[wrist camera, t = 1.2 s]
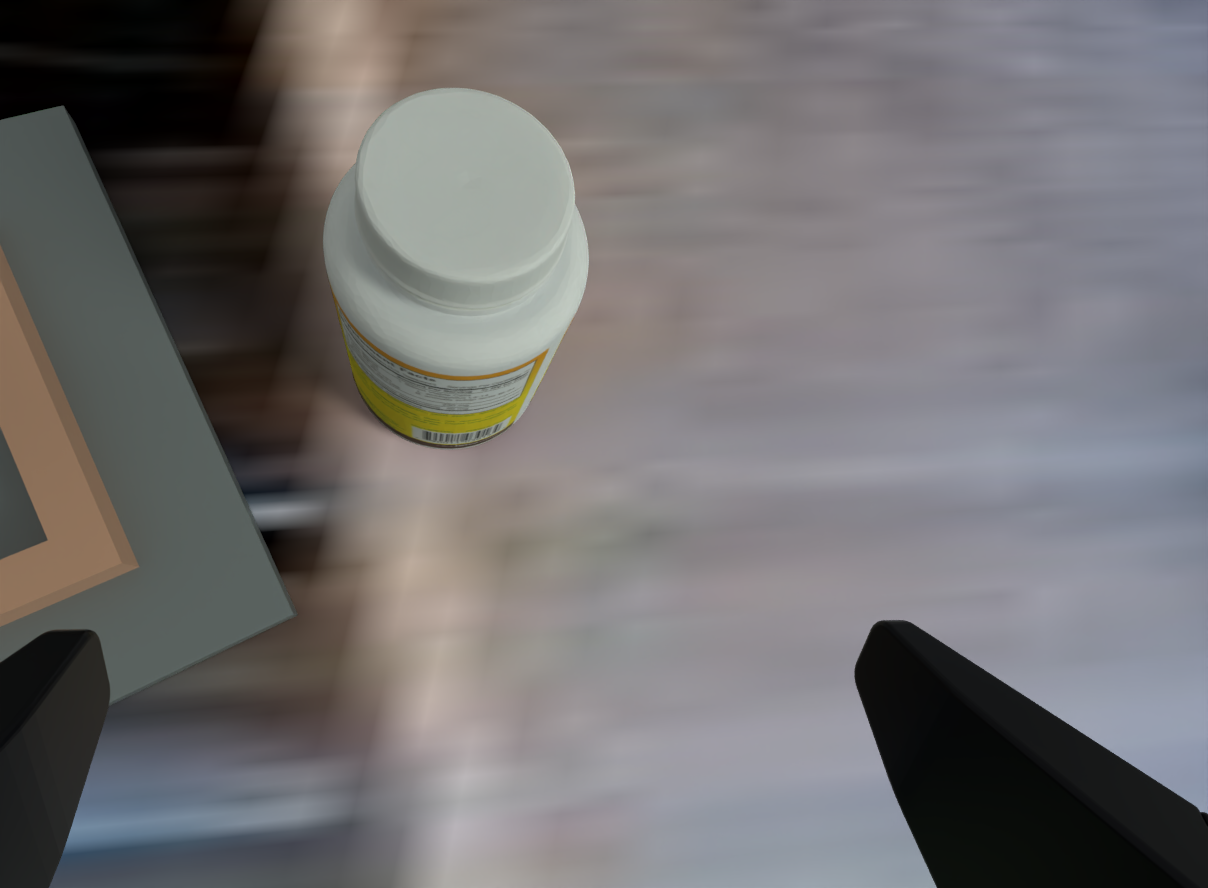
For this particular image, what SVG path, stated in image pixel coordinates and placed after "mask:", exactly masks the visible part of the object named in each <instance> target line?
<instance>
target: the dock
mask: <svg viewBox="0 0 1208 888" xmlns="http://www.w3.org/2000/svg"><path fill="white" fill-rule="evenodd" d="M297 615H298V614H297V612H296V610H295V607H294V605H293V603H292V601H291V599H290V596H289V594H288V592H287V590H286V588H285V585H284V583H283V581H282V579H281V577H280V574H279V572H278V570H277V568H276V565H275V563H274V561H273V559H272V557H271V554H270V552H269V550H268V548H267V546H266V543H265V541H264V539H263V537H262V535H261V532H260V530H259V528H258V526H257V524H256V521H255V519H254V517H253V515H252V512H251V510H250V508H249V506H248V504H247V501H246V499H245V497H244V495H243V493H242V490H241V488H240V486H239V484H238V482H237V479H236V477H235V475H234V473H233V471H232V468H231V466H230V464H229V462H228V459H227V457H226V455H225V453H224V451H223V448H222V446H221V444H220V442H219V440H218V437H217V435H216V433H215V431H214V429H213V426H212V424H211V422H210V420H209V418H208V415H207V413H206V411H205V409H204V406H203V404H202V402H201V400H200V398H199V395H198V393H197V391H196V389H195V387H194V384H193V382H192V380H191V378H190V376H189V373H188V371H187V369H186V367H185V365H184V362H183V360H182V358H181V356H180V353H179V351H178V349H177V347H176V345H175V342H174V340H173V338H172V336H171V334H170V331H169V329H168V327H167V325H166V323H165V320H164V318H163V316H162V314H161V312H160V309H159V307H158V305H157V303H156V300H155V298H154V296H153V294H152V292H151V289H150V287H149V285H148V283H147V281H146V278H145V276H144V274H143V272H142V270H141V267H140V265H139V263H138V261H137V259H136V256H135V254H134V252H133V250H132V247H131V245H130V243H129V241H128V239H127V236H126V234H125V232H124V230H123V228H122V225H121V223H120V221H119V219H118V217H117V214H116V212H115V210H114V208H113V206H112V203H111V201H110V199H109V197H108V195H107V192H106V190H105V188H104V186H103V183H102V181H101V179H100V177H99V175H98V172H97V170H96V168H95V166H94V164H93V161H92V159H91V157H90V155H89V153H88V150H87V148H86V146H85V144H84V142H83V139H82V137H81V135H80V133H79V130H78V128H77V126H76V124H75V122H74V121H73V119H72V118H71V116H70V115H69V113H68V112H67V110H66V109H65V107H64V106H59V107H54V108H50V109H46V110H42V111H37V112H33V113H29V114H24V115H20V116H16V117H12V118H7V119H3V120H0V662H2V661H3V660H4V659H6V658H7V657H9V656H10V655H12V654H13V653H15V652H16V651H17V650H19V649H20V648H22V647H23V646H25V645H26V644H28V643H29V642H31V641H32V640H33V639H35V638H36V637H38V636H39V635H41V634H43V633H45V632H47V631H50V630H58V629H89V630H92V631H94V632H96V633H97V635H98V636H99V639H100V642H101V647H102V651H103V656H104V660H105V665H106V669H107V674H108V679H109V683H110V702H109V706H110V705H112V704H114V703H116V702H118V701H120V700H122V699H125V698H127V697H129V696H131V695H133V694H135V693H137V692H139V691H141V690H143V689H145V688H147V687H149V686H152V685H154V684H156V683H158V682H160V681H162V680H164V679H166V678H168V677H170V676H172V675H174V674H176V673H179V672H181V671H183V670H185V669H187V668H189V667H191V666H193V665H195V664H197V663H199V662H201V661H203V660H206V659H208V658H210V657H212V656H214V655H216V654H218V653H220V652H222V651H224V650H226V649H228V648H230V647H233V646H235V645H237V644H239V643H241V642H243V641H245V640H247V639H249V638H251V637H253V636H255V635H257V634H259V633H262V632H264V631H266V630H268V629H270V628H272V627H274V626H276V625H278V624H280V623H282V622H284V621H286V620H289V619H291V618H293V617H295V616H297Z"/></svg>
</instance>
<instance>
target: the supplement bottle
mask: <svg viewBox="0 0 1208 888" xmlns="http://www.w3.org/2000/svg"><path fill="white" fill-rule="evenodd" d="M323 250H324V258H325V265H326V271H327V275H328V279H329V283H330V287H331V290H332V294H333V298H334V302H335V306H336V310H337V314H338V318H339V322H340V325H341V329H342V333H343V337H344V341H345V345H346V349H347V353H348V357H349V360H350V365H351V368H352V373H353V378H354V381H355V383H356V386H357V389H358V391H359V393H360V395H361V397H362V399H363V401H364V402H365V404H366V406H367V407H368V409H369V410H370V411H371V413H372V414H373V415H374V416H375V417H376V418H377V420H378V421H379V422H380V423H381V424H383V425H384V426H385V427H386V428H388V429H389V430H390V431H392V432H393V433H395V434H396V435H398V436H400V437H401V438H403V439H405V440H407V441H409V442H412V443H415V444H417V445H421V446H424V447H429V448H434V449H444V450H454V449H464V448H469V447H474V446H477V445H480V444H483V443H485V442H488V441H490V440H492V439H494V438H495V437H497V436H499V435H500V434H502V433H503V432H505V431H506V430H507V429H509V428H510V427H511V426H512V425H513V424H514V423H515V422H516V421H517V420H518V419H519V418H520V416H521V415H522V414H523V413H524V411H525V410H526V408H527V407H528V405H529V403H530V401H531V400H532V398H533V396H534V394H535V392H536V390H537V388H538V386H539V384H540V382H541V380H542V379H543V377H544V375H545V373H546V371H547V369H548V367H549V365H550V363H551V361H552V359H553V357H554V355H555V353H556V351H557V349H558V347H559V345H560V343H561V341H562V339H563V337H564V335H565V333H566V332H567V330H568V328H569V326H570V324H571V322H572V320H573V318H574V316H575V314H576V312H577V310H578V307H579V305H580V302H581V300H582V297H583V294H584V291H585V286H586V281H587V275H588V266H589V254H588V243H587V237H586V232H585V229H584V225H583V222H582V219H581V216H580V214H579V211H578V209H577V207H576V205H575V190H574V182H573V177H572V173H571V170H570V166H569V163H568V161H567V159H566V157H565V155H564V153H563V151H562V149H561V147H560V146H559V144H558V142H557V141H556V140H555V138H554V137H553V136H552V134H551V133H550V132H549V131H548V129H547V128H546V127H544V126H543V125H542V124H541V123H540V122H539V121H538V120H537V119H536V118H535V117H534V116H532V115H531V114H530V113H528V112H527V111H525V110H524V109H522V108H521V107H519V106H518V105H516V104H514V103H512V102H510V101H508V100H506V99H503V98H501V97H499V96H496V95H494V94H490V93H487V92H484V91H478V90H473V89H466V88H439V89H433V90H427V91H424V92H420V93H416V94H414V95H411V96H409V97H407V98H405V99H403V100H401V101H399V102H397V103H395V104H394V105H392V106H391V107H390V108H388V109H387V110H385V111H384V112H383V113H382V114H381V115H380V116H379V117H378V118H377V119H376V120H375V122H374V123H373V124H372V126H371V127H370V128H369V130H368V131H367V133H366V135H365V137H364V139H363V141H362V143H361V146H360V149H359V151H358V155H357V161H356V163H355V164H354V165H353V166H352V168H351V169H350V170H349V171H348V172H347V174H346V175H345V176H344V177H343V179H342V180H341V182H340V183H339V185H338V187H337V188H336V190H335V192H334V194H333V196H332V199H331V202H330V205H329V208H328V211H327V214H326V219H325V224H324V233H323Z"/></svg>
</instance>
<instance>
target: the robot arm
mask: <svg viewBox="0 0 1208 888" xmlns="http://www.w3.org/2000/svg"><path fill="white" fill-rule="evenodd" d="M855 683H856V686H857V689H858V692H859V695H860V698H861V701H862V704H863V707H864V709H865V712H866V715H867V718H868V721H869V724H870V727H871V729H872V732H873V735H874V738H875V741H876V744H877V747H878V750H879V752H880V755H881V758H882V761H883V764H884V767H885V770H886V772H887V775H888V778H889V781H890V783H891V786H892V789H893V791H894V794H895V796H896V799H897V801H898V803H899V806H900V808H901V810H902V813H903V815H904V817H905V819H906V821H907V824H908V826H909V828H910V830H911V832H912V834H913V837H914V839H915V841H916V843H917V845H918V848H919V850H920V852H921V854H922V856H923V858H924V861H925V863H926V865H927V867H928V869H929V872H930V874H931V876H932V878H933V880H934V882H935V885H936V887H937V888H1208V814H1207V813H1205V812H1200V811H1199V810H1198V808H1197V807H1196V806H1194V805H1193V804H1191V803H1190V802H1188V801H1187V800H1185V799H1184V798H1182V797H1180V796H1179V795H1177V794H1176V793H1174V792H1173V791H1171V790H1170V789H1168V788H1166V787H1165V786H1163V785H1162V784H1160V783H1159V782H1157V781H1156V780H1154V779H1153V778H1151V777H1149V776H1148V775H1146V774H1145V773H1143V772H1142V771H1140V770H1139V769H1137V768H1135V767H1134V766H1132V765H1131V764H1129V763H1128V762H1126V761H1125V760H1123V759H1122V758H1120V757H1118V756H1117V755H1115V754H1114V753H1112V752H1111V751H1109V750H1108V749H1106V748H1104V747H1103V746H1101V745H1100V744H1098V743H1097V742H1095V741H1094V740H1092V739H1091V738H1089V737H1087V736H1086V735H1084V734H1083V733H1081V732H1080V731H1078V730H1077V729H1075V728H1073V727H1072V726H1070V725H1069V724H1067V723H1066V722H1064V721H1063V720H1061V719H1060V718H1058V717H1056V716H1055V715H1053V714H1052V713H1050V712H1049V711H1047V710H1046V709H1044V708H1042V707H1041V706H1039V705H1038V704H1036V703H1035V702H1033V701H1032V700H1030V699H1029V698H1027V697H1025V696H1024V695H1022V694H1021V693H1019V692H1018V691H1016V690H1015V689H1013V688H1012V687H1010V686H1008V685H1007V684H1005V683H1004V682H1002V681H1001V680H999V679H998V678H996V677H994V676H993V675H991V674H990V673H988V672H987V671H985V670H984V669H982V668H981V667H979V666H977V665H976V664H974V663H973V662H971V661H970V660H968V659H967V658H965V657H964V656H962V655H960V654H959V653H957V652H956V651H954V650H953V649H951V648H950V647H948V646H946V645H945V644H943V643H942V642H940V641H939V640H937V639H936V638H934V637H933V636H931V635H929V634H928V633H926V632H925V631H923V630H922V629H920V628H919V627H917V626H916V625H914V624H912V623H911V622H908V621H904V620H883V621H879V622H877V623H876V624H875V625H873V627H872V628H871V630H870V633H869V635H868V637H867V640H866V642H865V644H864V646H863V649H862V651H861V653H860V656H859V658H858V660H857V662H856V665H855ZM109 702H110V683H109V679H108V674H107V669H106V665H105V660H104V656H103V651H102V647H101V642H100V639H99V636H98V635H97V633H96V632H94V631H92V630H89V629H58V630H50V631H47V632H45V633H43V634H41V635H39V636H38V637H36V638H35V639H33V640H32V641H31V642H29V643H28V644H26V645H25V646H23V647H22V648H20V649H19V650H17V651H16V652H15V653H13V654H12V655H10V656H9V657H7V658H6V659H4V660H3V661H2V662H0V888H49V886H50V883H51V881H52V879H53V876H54V874H55V871H56V869H57V866H58V864H59V861H60V859H61V856H62V853H63V850H64V847H65V844H66V841H67V838H68V836H69V833H70V829H71V826H72V823H73V820H74V817H75V813H76V810H77V807H78V804H79V801H80V797H81V794H82V791H83V788H84V785H85V781H86V778H87V775H88V772H89V769H90V765H91V762H92V759H93V756H94V753H95V749H96V746H97V743H98V740H99V737H100V733H101V730H102V727H103V724H104V720H105V717H106V714H107V711H108V707H109Z"/></svg>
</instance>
